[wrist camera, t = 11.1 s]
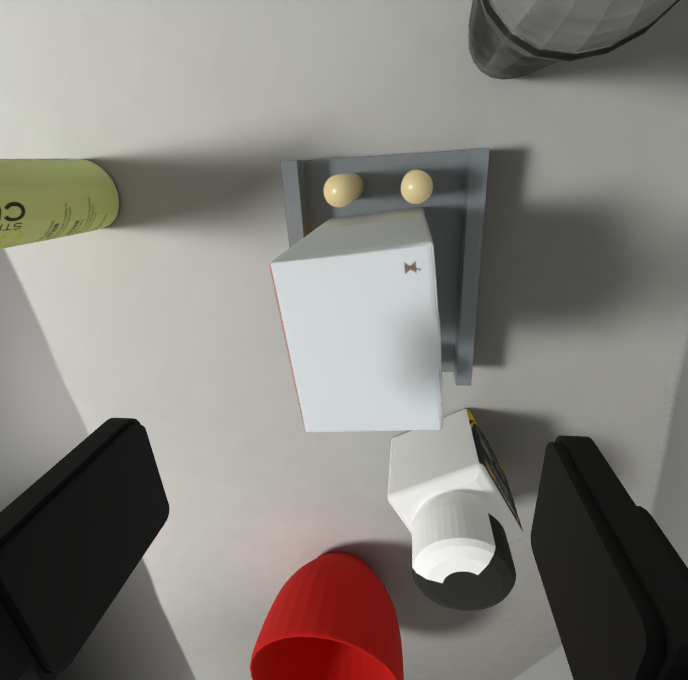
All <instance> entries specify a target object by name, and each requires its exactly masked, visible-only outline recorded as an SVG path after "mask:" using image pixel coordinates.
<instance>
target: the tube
mask: <svg viewBox="0 0 688 680" xmlns="http://www.w3.org/2000/svg"><path fill="white" fill-rule="evenodd" d="M118 210H119V197H118V193H117V190H116V187H115V185H114V183H113V181H112V179H111V178H110V176H109V175H108V174H107V173H106V172H105V171H104V170H103V169H102V168H101V167H99V166H98V165H97V164H95V163H93V162H91V161H88V160H83V159H0V249H2V248H7V247H13V246H18V245H23V244H28V243H34V242H39V241H44V240H49V239H54V238H59V237H64V236H69V235H74V234H79V233H84V232H89V231H94V230H98V229H102V228H105V227H107V226H109V225H110V224H111V223H112V222H113V221H114V220H115V218H116V217H117V214H118Z"/></svg>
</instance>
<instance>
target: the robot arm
mask: <svg viewBox="0 0 688 680" xmlns="http://www.w3.org/2000/svg"><path fill="white" fill-rule="evenodd" d="M168 515H169V504H168V501H167V498H166V494H165V491H164V488H163V484H162V481H161V478H160V475H159V471H158V468H157V465H156V462H155V458H154V455H153V452H152V448H151V445H150V442H149V439H148V435H147V432H146V429H145V427H144V426H143V425H140V422H139V421H138V420H136V419H131V418H110V419H109V420H107V421H106V422H104V423H103V424H102V425H101V426H100V427H99V428H98V429H96V430H95V431H94V432H93V433H92V434H91V435H89V436H88V437H87V438H86V439H85V440H84V441H82V442H81V443H80V444H79V445H78V446H77V447H76V448H74V449H73V450H72V451H71V452H70V453H69V454H67V455H66V456H65V457H64V458H63V459H62V460H60V461H59V462H58V463H57V464H56V465H55V466H53V467H52V468H51V469H50V470H49V471H48V472H47V473H46V474H44V475H43V476H42V477H41V478H40V479H38V480H37V481H36V482H35V483H34V484H33V485H31V486H30V487H29V488H28V489H27V490H26V491H25V492H23V493H22V494H21V495H20V496H19V497H18V498H16V499H15V500H14V501H13V502H12V503H11V504H9V505H8V506H7V507H6V508H5V509H4V510H3V511H1V512H0V680H54V679H55V678H56V676H57V675H58V674H59V672H61V671H63V670H65V669H66V668H67V667H68V666H69V665H70V664H71V662H72V661H73V659H74V658H75V657H76V655H77V654H78V652H79V651H80V649H81V648H82V646H83V644H84V643H85V642H86V640H87V639H88V637H89V636H90V634H91V633H92V631H93V630H94V628H95V627H96V625H97V624H98V622H99V621H100V619H101V618H102V616H103V615H104V613H105V612H106V610H107V609H108V607H109V606H110V604H111V603H112V601H113V600H114V598H115V597H116V595H117V594H118V592H119V591H120V589H121V588H122V586H123V585H124V583H125V582H126V580H127V579H128V577H129V576H130V574H131V573H132V571H133V570H134V569H135V567H136V566H137V564H138V563H139V561H140V560H141V558H142V557H143V555H144V554H145V552H146V551H147V549H148V548H149V546H150V545H151V543H152V542H153V540H154V539H155V537H156V536H157V534H158V533H159V531H160V530H161V528H162V527H163V525H164V524H165V522H166V520H167V518H168ZM531 546H532V551H533V554H534V557H535V560H536V564H537V567H538V570H539V573H540V576H541V579H542V582H543V585H544V589H545V592H546V595H547V598H548V601H549V604H550V607H551V610H552V613H553V617H554V620H555V623H556V626H557V629H558V632H559V635H560V638H561V642H562V645H563V648H564V651H565V654H566V657H567V660H568V663H569V666H570V670H571V672H572V676H573V679H574V680H688V568H687V567H686V565H685V564H684V562H683V561H682V559H681V558H680V557H679V555H678V553H677V552H676V551H675V549H674V548H673V546H672V545H671V543H670V542H669V541H668V539H667V537H666V536H665V535H664V533H663V532H662V530H661V529H660V527H659V526H658V524H657V523H656V522H655V520H654V519H653V517H652V516H651V515H650V514H649V513H648V511H647V510H645V509H644V508H642V507H640V506H636V505H635V503H634V502H633V500H632V499H631V497H630V496H629V494H628V493H627V491H626V490H625V488H624V487H623V485H622V484H621V482H620V481H619V479H618V478H617V476H616V475H615V473H614V472H613V470H612V469H611V467H610V466H609V464H608V463H607V461H606V460H605V458H604V457H603V455H602V454H601V452H600V450H599V449H598V447H597V446H596V444H595V443H594V441H593V440H592V439H591V438H589V437H581V436H558V437H557V439H556V442H549V443H548V444H547V447H546V452H545V458H544V463H543V469H542V474H541V480H540V486H539V491H538V497H537V502H536V508H535V514H534V519H533V525H532V530H531Z"/></svg>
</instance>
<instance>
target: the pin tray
mask: <svg viewBox="0 0 688 680" xmlns="http://www.w3.org/2000/svg"><path fill="white" fill-rule="evenodd" d="M489 150H490V148H477V149H469V150H462V151H446V152H430V153H415V154H399V155H383V156H368V157H352V158H336V159H321V160H305V161H304V160H290V161H280V163H281V172H282V181H283V191H284V200H285V210H286V219H287V229H288V238H289V247H290V248H291V247H292V246H293V245H295V244H296V243H297V242H299V241H300V240H301V239H303V238H304V237H306V236H307V235H308V234H310V233H311V232H312V231H313V230H315V229H316V228H318V227H319V226H321V225H322V224H323V223H325V222H326V221H328V220H329V219H332V218H340V217H347V216H356V215H364V214H372V213H380V212H387V211H395V210H403V209H411V208H418V207H423V209H424V214H425V218H426V221H427V223H428V227H429V230H430V233H431V237H432V241H433V244H434V255H435V268H436V284H437V299H438V311H439V319H440V333H441V363H442V372H453V373H454V377H455V382H456V385H468V386H471V380H472V367H473V354H474V342H475V329H476V316H477V303H478V290H479V278H480V265H481V252H482V239H483V227H484V214H485V201H486V188H487V176H488V163H489Z"/></svg>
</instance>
